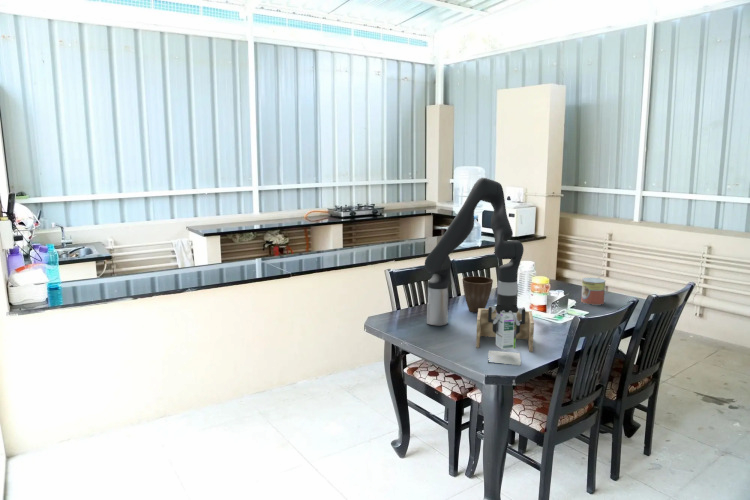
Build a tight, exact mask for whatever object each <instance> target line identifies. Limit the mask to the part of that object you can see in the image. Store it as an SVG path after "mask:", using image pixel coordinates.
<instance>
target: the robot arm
mask: <svg viewBox="0 0 750 500" xmlns="http://www.w3.org/2000/svg"><path fill="white" fill-rule="evenodd" d="M505 199H506V198H505V194H504V189H503V186H502V184H501V183H500V182H498V181H495V180H493V179H490V178H488V177H480V178H479V179H478V180H476V181H475V183H474V184H473V185H472V187H471V190H470V192H469V194H468V195H467V198H466V200H465V202H464V203H463V205H462V206H461V208H460V209H459V211H458V213H457V214H456V215H455V217H453V218H454V219H452V221H451V222H450V224H449V225H448V227H447V229H446V231H445V232H444V233H443V234H442V237H441V238H440V240H439V241H438V243H437V244H436V245H435V247H433V249H432V250H431V252H430V253H429V254H428V255H427V256H426V258H425V260H424V268H425V271H426V272H427V273H429V274H432V276H431V278H430V279H429V280H428V281H427V304H426V324H427V325H432V326H437V327H438V326H439V327H440V326H445V325H447V324H448V318H449V317H448V315H449V314H448V310H449V309H448V308H449V306H448V305H449V303H448V302H449V283H450V280H451V272H452V271H451V269H452V262H451V258H450V256H449V255H450V254H451V253H452V252H453V251H455V250H456V249H457V248H458V247H459V246H460V245H462V243H464V242H465V241H466V240H467V238H468V237H469V235H470V234H471V233H472V231H473V230H474V227H475V210H476V207H477V206H478V204H479V203H480V202H481V201H482V202H486V203H489V204H490V205H491V206H492V208H493V213H492V214H491V218H490V226H491V230H492V234H493V238H494V254H495V257H497V259H498V260H509V262H508V263H506V264H502V265H500V266H499V267H498V277H497V278H498V279H497V280H498V281H497V290H496V298H497V299H496V305H495V306H491V305H489V306H488V309H489V310H488V322H491V323H493V332H494V333H496V327H497V321H498V320H499V319H500V318H501V313H502V312H509V313H511V314H513V313H517V312H518V311H519V312H520V314H522V319H521V320H520V321H519V320H518V318H516V317H515V315H514V314H513V320H514V321H516V335H518V333H519V332H520V325H521V324H525V311H526V308H525V307H524V306H523V307H518V294H519V290H518V289H519V288H518V287H519V285H518V275H519V268H520V265H521V261H522V259H523V255H524V251H525V250H524V245H523V243H522V242H521V241H520V240H517V239H516V240H514V239H513V240H512V239H511V238H513V235H514V234H513V229H512V227H511V224H510V221H509V217H508V214H507V213H508V212H507V208H506V200H505ZM494 310H496V311H497V313H498V314H499V315H498V316H496V317H495V318H494V319H492V318H491V316H492V312H494ZM500 311H501V312H500Z"/></svg>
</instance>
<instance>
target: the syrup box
mask: <svg viewBox="0 0 750 500" xmlns="http://www.w3.org/2000/svg"><path fill="white" fill-rule="evenodd" d="M500 312H501V311H500ZM513 314H514V315H515V317H516V318H517V313H513ZM513 314H511V313H509V312H502V313H501V318H500V319H499V320H498V321H497V327H496V337H495V346H496V347H498V348H499V349H500V350H502V351H503V350H512V349H514V350H515V349H516V346H517V345H516V344H517V343H516V341H517V339H516V321H514V320H513ZM498 315H499V314H498V313H497V311H496V316H498Z"/></svg>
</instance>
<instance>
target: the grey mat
mask: <svg viewBox="0 0 750 500" xmlns="http://www.w3.org/2000/svg"><path fill="white" fill-rule="evenodd" d="M487 355H488V356H487V357H488V358H489V357H491V358H489V359H488V358H487V361H488V360H490V359H491V360H490V361H492V362H495V363H504V364H503V365H506V364H512V365H511V366H519V367H520V366H522V361H521V359H522V358H521V352H513V351H511V352H510V351H499V350H488V354H487ZM492 358H493V359H492ZM490 361H489V362H490Z"/></svg>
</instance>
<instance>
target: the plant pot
mask: <svg viewBox="0 0 750 500" xmlns="http://www.w3.org/2000/svg"><path fill="white" fill-rule="evenodd" d="M461 280H462V289H463V293H464V298H465V302H466V305H467V308H468V311H470V312H471V313H478V308H481V309H486V307H487V305H488V302H489V300H490V299H489V298H490V296H491V291H492V288H493V283H494V282H493V281H494V280H493V278H490V277H486V276H479V275H478V276H477V275H475V276H473V275H472V276H465V277H463V278H462V279H461Z"/></svg>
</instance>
